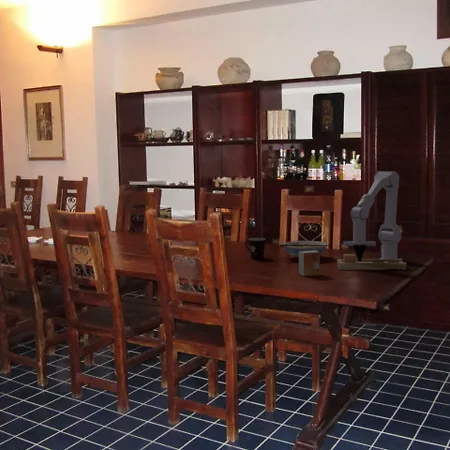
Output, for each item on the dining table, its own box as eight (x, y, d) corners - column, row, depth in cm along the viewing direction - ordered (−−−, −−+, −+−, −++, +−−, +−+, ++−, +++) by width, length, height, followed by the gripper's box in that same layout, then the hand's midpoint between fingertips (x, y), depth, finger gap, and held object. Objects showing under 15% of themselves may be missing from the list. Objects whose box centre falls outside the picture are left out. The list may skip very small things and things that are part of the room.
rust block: (343, 262, 288) (343, 253, 288) (354, 262, 288) (354, 253, 287) (344, 264, 283) (344, 255, 283) (355, 264, 283) (355, 255, 282)
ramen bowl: (327, 254, 323) (327, 238, 322) (331, 262, 300) (331, 245, 299) (280, 254, 325) (280, 239, 324) (280, 262, 303) (279, 246, 302)
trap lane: (337, 265, 292) (337, 259, 291) (401, 265, 289) (401, 258, 288) (339, 269, 281) (339, 263, 281) (406, 269, 278) (406, 263, 277)
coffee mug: (268, 258, 313) (268, 239, 312) (253, 260, 310) (252, 240, 309) (259, 255, 324) (258, 236, 323) (244, 256, 321) (243, 238, 320)
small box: (303, 276, 268) (303, 253, 267) (298, 274, 274) (298, 251, 272) (320, 275, 270) (320, 251, 269) (315, 272, 276) (315, 249, 274)
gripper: (344, 233, 280) (344, 262, 282) (376, 233, 279) (376, 262, 280) (343, 231, 287) (343, 260, 289) (374, 231, 286) (374, 259, 287)
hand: (359, 261), depth 285 cm, fingers closed
